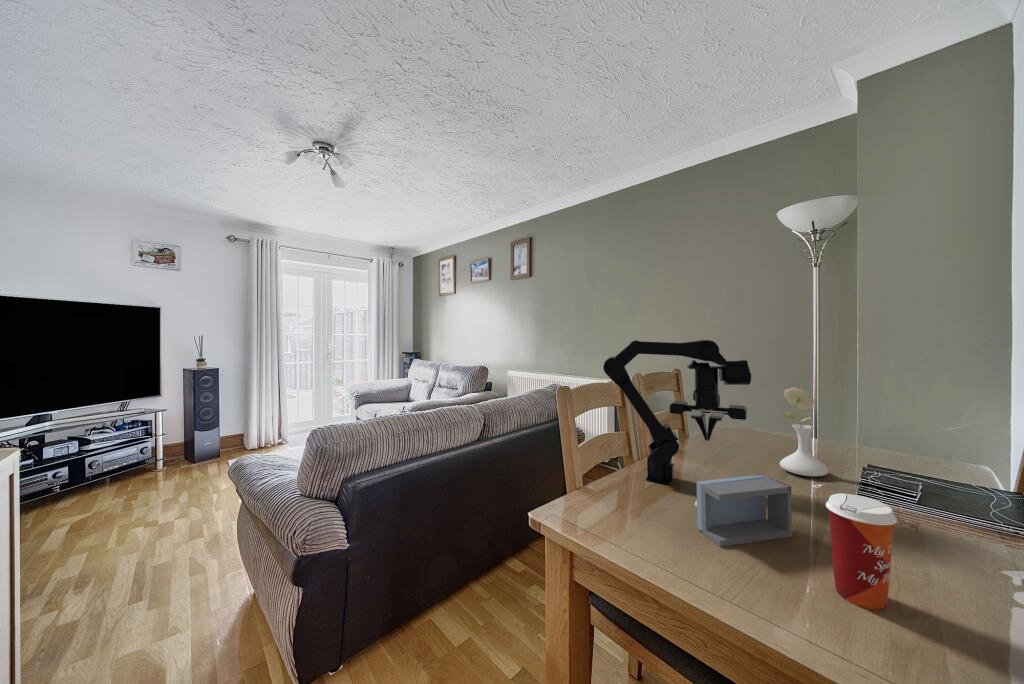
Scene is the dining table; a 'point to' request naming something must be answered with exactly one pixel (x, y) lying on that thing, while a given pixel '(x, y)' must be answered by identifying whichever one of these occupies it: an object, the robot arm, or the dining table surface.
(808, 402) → the flower in vase
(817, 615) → the dining table surface
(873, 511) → the coffee cup
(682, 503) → the dining table surface
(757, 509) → the door
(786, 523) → the cabinet
